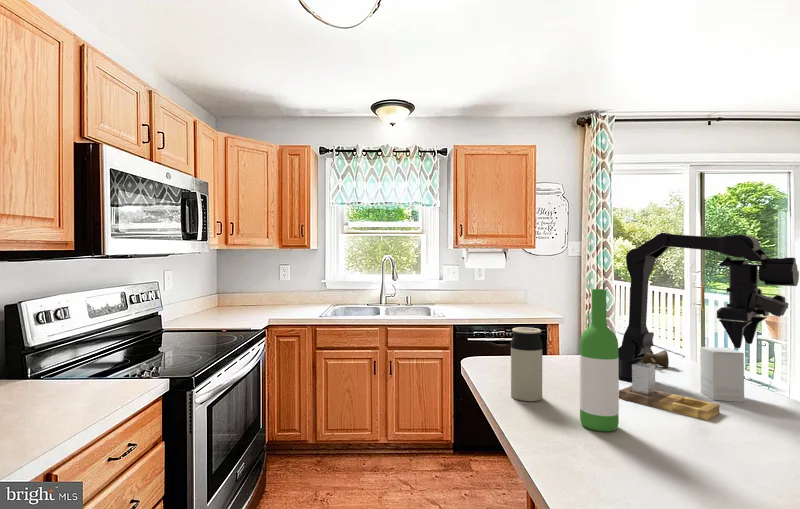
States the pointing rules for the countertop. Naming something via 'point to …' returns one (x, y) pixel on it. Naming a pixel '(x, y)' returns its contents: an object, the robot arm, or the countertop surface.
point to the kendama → (656, 358)
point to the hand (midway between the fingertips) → (743, 345)
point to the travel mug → (526, 364)
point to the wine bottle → (599, 370)
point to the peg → (643, 379)
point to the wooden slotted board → (673, 403)
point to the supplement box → (722, 373)
